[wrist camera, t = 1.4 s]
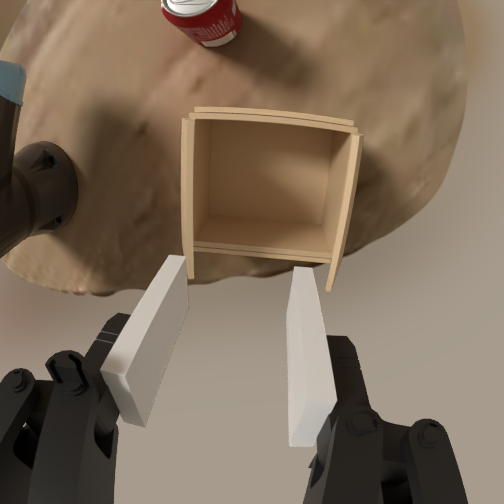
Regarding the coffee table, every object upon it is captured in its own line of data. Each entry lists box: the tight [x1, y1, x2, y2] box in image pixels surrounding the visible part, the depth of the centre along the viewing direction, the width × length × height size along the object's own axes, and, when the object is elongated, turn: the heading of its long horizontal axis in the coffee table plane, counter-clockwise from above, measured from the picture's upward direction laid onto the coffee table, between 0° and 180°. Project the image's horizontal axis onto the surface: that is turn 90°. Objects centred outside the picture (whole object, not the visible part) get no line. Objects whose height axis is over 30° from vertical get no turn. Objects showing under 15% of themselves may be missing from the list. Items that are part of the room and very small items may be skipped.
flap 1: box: [181, 118, 195, 279], centre depth 25 cm, size 7×13×1 cm
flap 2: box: [325, 133, 364, 292], centre depth 25 cm, size 7×13×1 cm
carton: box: [189, 107, 358, 263], centre depth 33 cm, size 16×15×9 cm
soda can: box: [161, 0, 242, 47], centre depth 23 cm, size 7×7×12 cm
